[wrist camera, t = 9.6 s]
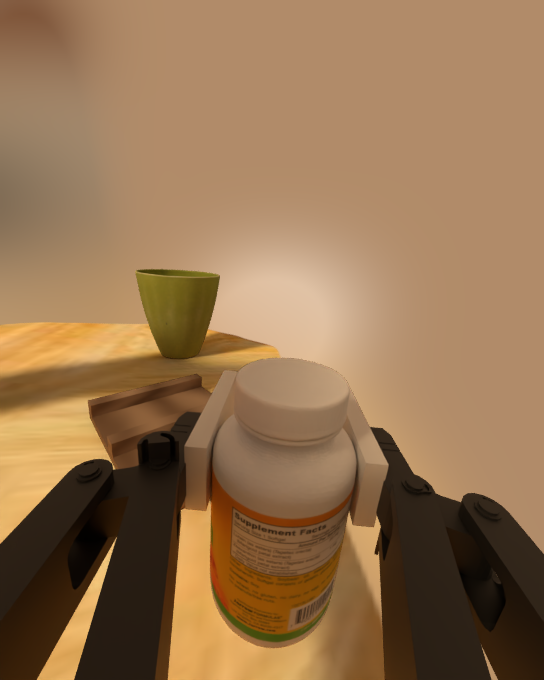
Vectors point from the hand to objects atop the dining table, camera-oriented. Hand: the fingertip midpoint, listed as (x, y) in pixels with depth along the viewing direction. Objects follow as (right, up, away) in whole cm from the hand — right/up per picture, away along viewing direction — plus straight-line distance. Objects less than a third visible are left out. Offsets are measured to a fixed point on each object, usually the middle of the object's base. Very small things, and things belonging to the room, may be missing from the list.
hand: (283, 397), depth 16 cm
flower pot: (-19, 0, +41) cm, 45 cm away
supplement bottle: (-1, -8, -3) cm, 8 cm away
